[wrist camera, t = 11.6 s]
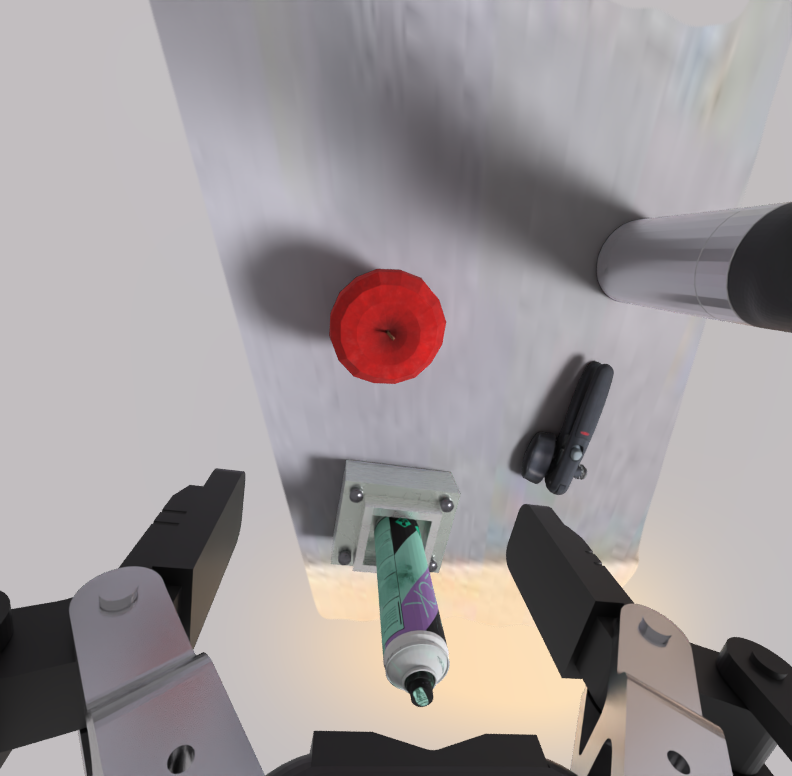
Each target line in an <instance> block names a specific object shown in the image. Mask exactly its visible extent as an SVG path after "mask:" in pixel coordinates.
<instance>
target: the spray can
mask: <svg viewBox="0 0 792 776" xmlns="http://www.w3.org/2000/svg"><path fill="white" fill-rule="evenodd" d="M374 539H375V552H376V566H377V579H378V593H379V607H380V620H381V634H382V647H383V660H384V667H385V670H386V676H387V679H388V680H389V682H390V683H391V684H392V685H393V686H395V687H397V688H399V689H402V690H405V691H406V692H408V693H409V694H410V696H411V701H412V703H413V704H414V705H416V706H418V707H424V706H427V705H429V704H430V703H431V702H432V700H433V691H432V690H433V688H434V687H435V686H436V684H438V683H439V682H440V681H441V680H442V679H443V678H444V677H445V676H446V674H447V672H448V670H449V658H448V657H449V654H448V648H447V644H446V640H445V636H444V631H443V627H442V623H441V618H440V614H439V610H438V606H437V602H436V598H435V593H434V589H433V585H432V581H431V577H430V572H429V568H428V564H427V560H426V556H425V551H424V547H423V543H422V539H421V535H420V530H419V526H418V523H417V520H416V519H406V518H396V517H386V516H380V517H379V518H378V519H377V521H376V523H375V526H374Z"/></svg>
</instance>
